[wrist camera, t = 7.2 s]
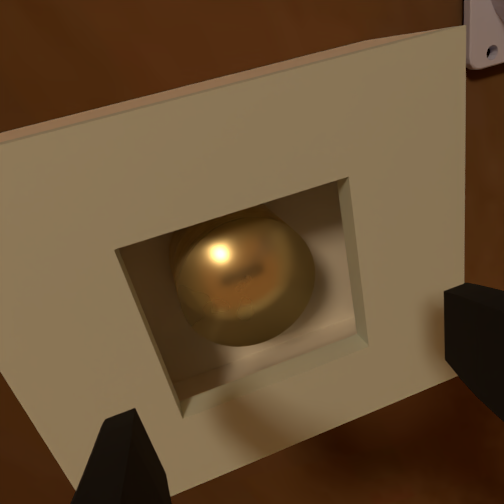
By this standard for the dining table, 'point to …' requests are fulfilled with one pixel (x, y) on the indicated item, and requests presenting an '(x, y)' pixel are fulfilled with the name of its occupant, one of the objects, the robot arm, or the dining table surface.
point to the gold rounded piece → (241, 276)
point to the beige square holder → (219, 204)
